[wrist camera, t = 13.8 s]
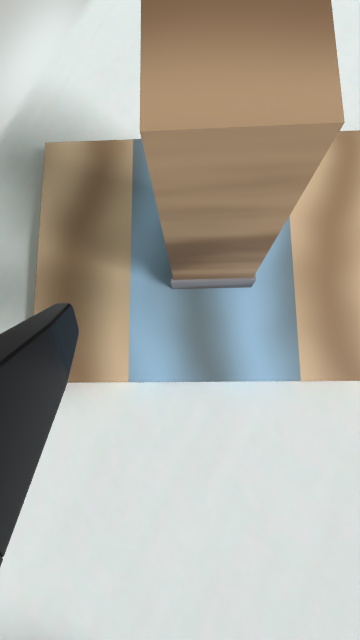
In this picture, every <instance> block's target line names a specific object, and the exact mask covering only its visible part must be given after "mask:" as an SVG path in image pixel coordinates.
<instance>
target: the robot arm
mask: <svg viewBox="0 0 360 640" xmlns="http://www.w3.org/2000/svg"><path fill="white" fill-rule="evenodd" d="M78 336H79V328H78V324H77V320H76V316H75V312H74V308H73V306H72V305H71V304H70V303H56V304H54V305H52V306H50V307H48V308H46V309H45V310H43V311H41V312H39V313H37V314H36V315H34V316H32V317H30V318H28V319H27V320H25V321H23V322H21V323H19V324H18V325H16V326H14V327H12V328H10V329H9V330H7V331H5V332H3V333H1V334H0V566H1V563H2V561H3V558H2V557H3V556H4V555H5V552H6V549H7V546H8V544H9V541H10V538H11V535H12V533H13V530H14V527H15V525H16V522H17V519H18V516H19V514H20V511H21V508H22V505H23V503H24V500H25V497H26V494H27V492H28V489H29V486H30V484H31V481H32V478H33V475H34V473H35V470H36V467H37V464H38V462H39V459H40V456H41V454H42V451H43V448H44V445H45V443H46V440H47V437H48V434H49V432H50V429H51V426H52V423H53V421H54V418H55V415H56V413H57V410H58V407H59V404H60V402H61V399H62V396H63V393H64V391H65V388H66V385H67V382H68V379H69V375H70V371H71V366H72V362H73V358H74V353H75V349H76V345H77V340H78Z"/></svg>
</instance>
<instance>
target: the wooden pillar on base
mask: <svg viewBox="0 0 360 640" xmlns="http://www.w3.org/2000/svg"><path fill="white" fill-rule="evenodd" d="M343 124H344V114H343V105H342V96H341V86H340V77H339V68H338V59H337V50H336V41H335V32H334V23H333V14H332V5H331V0H141V73H140V134H141V138H142V143H143V147H144V152H145V156H146V160H147V165H148V169H149V174H150V178H151V183H152V187H153V192H154V196H155V200H156V205H157V209H158V214H159V218H160V223H161V227H162V231H163V236H164V240H165V245H166V249H167V254H168V258H169V263H170V267H171V285H172V289H206V288H247V287H252V286H253V284H254V283H255V281H256V272H257V270H258V269H259V267H260V265H261V263H262V262H263V260H264V258H265V257H266V255H267V253H268V252H269V250H270V248H271V246H272V245H273V243H274V241H275V240H276V238H277V236H278V235H279V233H280V231H281V229H282V228H283V226H284V224H285V223H286V221H287V219H288V218H289V216H290V214H291V212H292V211H293V209H294V207H295V206H296V204H297V202H298V201H299V199H300V197H301V195H302V194H303V192H304V190H305V189H306V187H307V185H308V184H309V182H310V180H311V178H312V177H313V175H314V173H315V172H316V170H317V168H318V167H319V165H320V163H321V161H322V160H323V158H324V156H325V155H326V153H327V151H328V150H329V148H330V146H331V144H332V143H333V141H334V139H335V138H336V136H337V134H338V133H339V131H340V129H341V127H342V126H343Z"/></svg>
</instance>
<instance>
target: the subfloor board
mask: <svg viewBox="0 0 360 640" xmlns="http://www.w3.org/2000/svg"><path fill="white" fill-rule="evenodd" d="M56 303H70V304H71V305H72V306H73V308H74V312H75V316H76V320H77V324H78V328H79V336H78V340H77V345H76V349H75V353H74V358H73V362H72V366H71V371H70V375H69V379H68V382H221V381H360V131H339V133H338V134H337V136H336V138H335V139H334V141H333V143H332V144H331V146H330V148H329V150H328V151H327V153H326V155H325V156H324V158H323V160H322V161H321V163H320V165H319V167H318V168H317V170H316V172H315V173H314V175H313V177H312V178H311V180H310V182H309V184H308V185H307V187H306V189H305V190H304V192H303V194H302V195H301V197H300V199H299V201H298V202H297V204H296V206H295V207H294V209H293V211H292V212H291V214H290V216H289V218H288V219H287V221H286V223H285V224H284V226H283V228H282V229H281V231H280V233H279V235H278V236H277V238H276V240H275V241H274V243H273V245H272V246H271V248H270V250H269V252H268V253H267V255H266V257H265V258H264V260H263V262H262V263H261V265H260V267H259V269H258V270H257V272H256V281H255V283H254V284H253V286H252V287H247V288H206V289H172V285H171V267H170V263H169V258H168V254H167V249H166V245H165V240H164V236H163V231H162V227H161V223H160V218H159V214H158V209H157V205H156V200H155V196H154V192H153V187H152V183H151V178H150V174H149V169H148V165H147V160H146V156H145V152H144V147H143V143H142V139H133V140H107V141H81V142H56V143H45V155H44V169H43V184H42V198H41V212H40V227H39V241H38V255H37V270H36V284H35V298H34V313H33V316H34V315H36V314H37V313H39V312H41V311H43V310H45V309H46V308H48V307H50V306H52V305H54V304H56ZM68 382H67V383H68Z"/></svg>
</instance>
